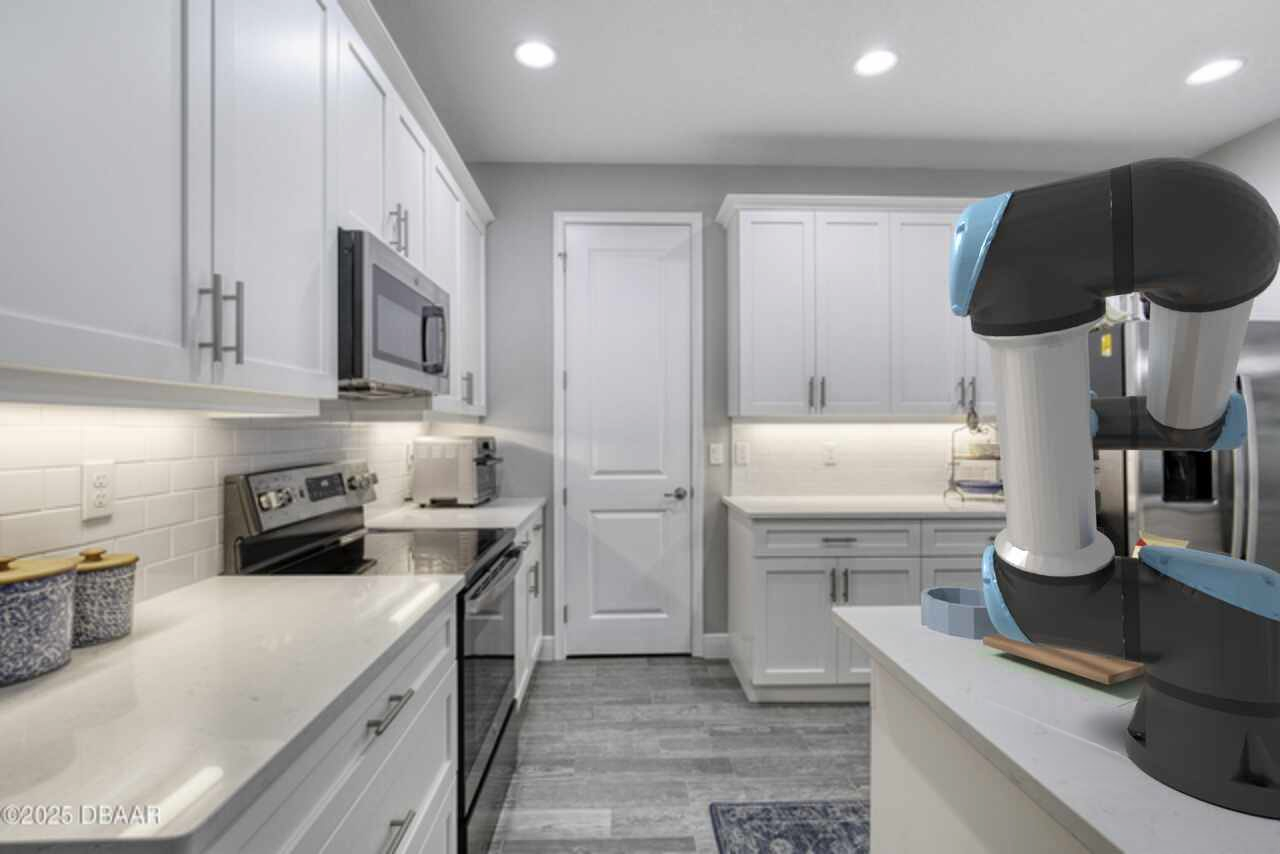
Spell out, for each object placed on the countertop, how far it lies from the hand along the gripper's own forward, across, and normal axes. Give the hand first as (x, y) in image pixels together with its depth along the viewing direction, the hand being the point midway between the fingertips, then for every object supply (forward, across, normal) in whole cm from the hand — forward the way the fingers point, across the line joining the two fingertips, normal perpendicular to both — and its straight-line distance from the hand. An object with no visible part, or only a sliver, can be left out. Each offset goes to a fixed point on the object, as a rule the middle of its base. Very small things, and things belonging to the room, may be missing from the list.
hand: (1074, 636), depth 91 cm
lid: (+3, 0, 0) cm, 3 cm away
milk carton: (+5, +21, -2) cm, 22 cm away
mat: (+5, 0, 0) cm, 5 cm away
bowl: (+5, +2, +20) cm, 21 cm away
